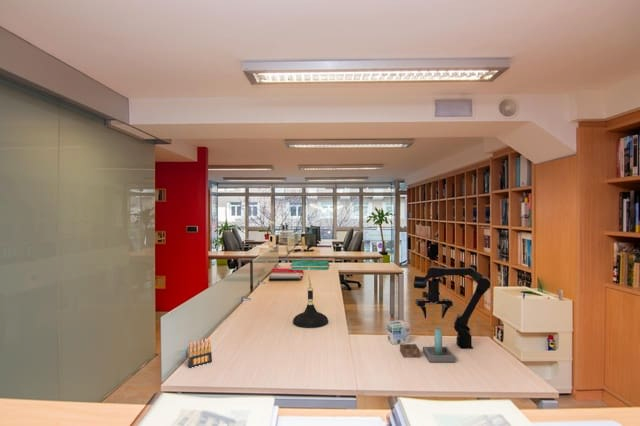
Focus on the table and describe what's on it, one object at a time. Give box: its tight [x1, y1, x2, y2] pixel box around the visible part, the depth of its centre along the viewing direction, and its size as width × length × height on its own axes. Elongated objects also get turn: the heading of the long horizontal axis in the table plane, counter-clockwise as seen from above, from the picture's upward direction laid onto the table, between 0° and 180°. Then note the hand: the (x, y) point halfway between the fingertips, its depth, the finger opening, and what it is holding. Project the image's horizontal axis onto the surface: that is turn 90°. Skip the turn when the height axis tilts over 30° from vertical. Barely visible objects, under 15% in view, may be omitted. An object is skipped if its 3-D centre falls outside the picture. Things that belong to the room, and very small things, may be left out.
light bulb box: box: [387, 319, 411, 345], centre depth 192 cm, size 11×7×11 cm, turn 106°
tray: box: [422, 346, 456, 364], centre depth 170 cm, size 12×12×3 cm
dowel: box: [434, 328, 443, 356], centre depth 170 cm, size 4×4×13 cm
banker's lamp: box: [289, 259, 331, 329], centre depth 227 cm, size 26×23×40 cm
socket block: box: [399, 343, 421, 358], centre depth 175 cm, size 8×8×4 cm
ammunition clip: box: [187, 337, 213, 369], centre depth 165 cm, size 11×2×12 cm, turn 127°
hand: (433, 318), depth 190 cm, fingers open, 9 cm apart
